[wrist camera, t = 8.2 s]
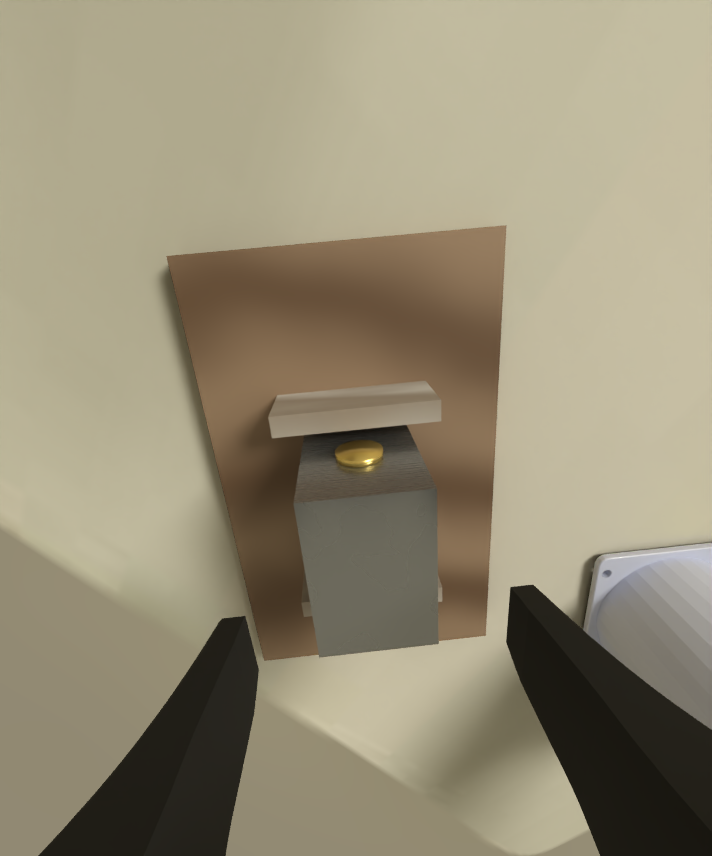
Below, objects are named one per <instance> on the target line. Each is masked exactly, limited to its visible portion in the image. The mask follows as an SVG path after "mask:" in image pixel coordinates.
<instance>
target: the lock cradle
mask: <svg viewBox="0 0 712 856" xmlns="http://www.w3.org/2000/svg"><path fill="white" fill-rule="evenodd" d="M505 241H506V226H495V227H484V228H473V229H462V230H451V231H440V232H429V233H418V234H406V235H395V236H384V237H373V238H362V239H351V240H340V241H329V242H318V243H307V244H296V245H285V246H274V247H263V248H251V249H240V250H229V251H218V252H207V253H196V254H185V255H174V256H167V260H168V264H169V268H170V272H171V277H172V281H173V285H174V289H175V293H176V297H177V301H178V306H179V310H180V314H181V318H182V322H183V326H184V330H185V334H186V339H187V343H188V347H189V351H190V355H191V359H192V363H193V368H194V372H195V376H196V380H197V384H198V388H199V392H200V397H201V401H202V405H203V409H204V413H205V417H206V421H207V426H208V430H209V434H210V438H211V442H212V446H213V450H214V454H215V459H216V463H217V467H218V471H219V475H220V479H221V483H222V488H223V492H224V496H225V500H226V504H227V508H228V512H229V517H230V521H231V525H232V529H233V533H234V537H235V541H236V546H237V550H238V554H239V558H240V562H241V566H242V570H243V575H244V579H245V583H246V587H247V591H248V595H249V599H250V603H251V608H252V612H253V616H254V620H255V624H256V628H257V632H258V637H259V641H260V645H261V649H262V653H263V657H264V661H266V660H275V659H284V658H292V657H301V656H310V655H319V652H318V646H317V640H316V635H315V629H314V623H313V617H312V611H311V605H310V599H309V593H308V587H307V581H306V575H305V569H304V563H303V557H302V551H301V545H300V539H299V533H298V527H297V521H296V515H295V509H294V497H295V491H296V484H297V478H298V471H299V465H300V459H301V452H302V446H303V439H304V435H310V434H320V433H330V432H340V431H350V430H360V429H369V428H379V427H389V426H399V425H407V427H408V429H409V431H410V433H411V435H412V437H413V439H414V441H415V443H416V446H417V448H418V450H419V452H420V454H421V456H422V458H423V460H424V462H425V464H426V466H427V469H428V471H429V473H430V475H431V477H432V479H433V481H434V483H435V485H436V487H437V537H438V637H439V641H442V640H451V639H460V638H469V637H478V636H486V618H487V598H488V578H489V558H490V539H491V519H492V499H493V479H494V459H495V439H496V419H497V399H498V380H499V360H500V340H501V320H502V300H503V280H504V260H505Z"/></svg>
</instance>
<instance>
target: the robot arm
mask: <svg viewBox="0 0 712 856" xmlns="http://www.w3.org/2000/svg"><path fill="white" fill-rule="evenodd" d="M605 570H606V571H605ZM506 642H507V645H508V648H509V651H510V654H511V656H512V659H513V662H514V665H515V668H516V670H517V673H518V675H519V678H520V681H521V683H522V685H523V687H524V690H525V692H526V694H527V696H528V698H529V700H530V702H531V704H532V706H533V708H534V710H535V712H536V714H537V716H538V719H539V721H540V723H541V725H542V727H543V729H544V731H545V733H546V735H547V737H548V739H549V741H550V743H551V745H552V747H553V749H554V751H555V753H556V755H557V757H558V759H559V761H560V763H561V765H562V767H563V769H564V771H565V773H566V775H567V778H568V780H569V782H570V784H571V786H572V788H573V791H574V793H575V795H576V797H577V799H578V802H579V804H580V806H581V809H582V811H583V814H584V816H585V819H586V821H587V824H588V826H589V829H590V831H591V834H592V836H593V839H594V841H595V843H596V846H597V849H598V851H599V854H600V856H712V543H703V544H694V545H685V546H676V547H667V548H658V549H649V550H639V551H630V552H621V553H612V554H604V555H601V556H599V557H598V558H597V559H596V561H595V564H594V570H593V576H592V582H591V587H590V593H589V599H588V605H587V610H586V616H585V622H584V628H583V630H582V629H581V628H580V627H579V626H578V625H577V624H576V623H575V622H574V621H572V620H571V619H570V618H569V617H568V616H567V615H566V614H565V613H563V612H562V611H561V610H560V609H559V608H558V607H557V606H556V605H555V604H554V603H553V602H551V601H550V600H549V599H548V598H547V597H546V596H545V595H544V594H543V593H542V592H540V591H539V590H538V589H537V588H536V587H535V586H534V585H526V586H517V587H511V588H510V601H509V614H508V627H507V640H506ZM258 671H259V669H258V665H257V661H256V657H255V653H254V649H253V645H252V641H251V637H250V633H249V629H248V625H247V621H246V617H245V616H242V617H233V618H224V619H222V620H221V621H220V622H219V623H218V625H217V627H216V628H215V630H214V631H213V633H212V635H211V636H210V638H209V639H208V641H207V642H206V644H205V646H204V647H203V649H202V650H201V652H200V653H199V655H198V657H197V658H196V660H195V661H194V663H193V664H192V666H191V667H190V669H189V670H188V672H187V673H186V675H185V676H184V678H183V679H182V680H181V682H180V683H179V685H178V686H177V688H176V689H175V691H174V692H173V694H172V695H171V696H170V698H169V699H168V701H167V702H166V704H165V705H164V706H163V708H162V709H161V710H160V712H159V713H158V715H157V716H156V717H155V719H154V720H153V721H152V723H151V724H150V725H149V727H148V728H147V729H146V731H145V732H144V733H143V735H142V736H141V737H140V739H139V740H138V741H137V743H136V744H135V745H134V747H133V748H132V749H131V750H130V752H129V753H128V754H127V755H126V757H125V758H124V759H123V760H122V762H121V763H120V764H119V765H118V766H117V768H116V769H115V770H114V771H113V773H112V774H111V775H110V776H109V777H108V779H107V780H106V781H105V782H104V783H103V784H102V786H101V787H100V788H99V789H98V790H97V792H96V793H95V794H94V795H93V796H92V797H91V799H90V800H89V801H88V802H87V803H86V804H85V805H84V806H83V808H82V809H81V810H80V811H79V812H78V813H77V814H76V815H75V816H74V818H73V819H72V820H71V821H70V822H69V823H68V824H67V826H66V827H65V828H64V829H63V830H62V831H61V832H60V833H59V834H58V835H57V836H56V837H55V839H54V840H53V841H52V842H51V843H50V844H49V845H48V846H47V847H46V848H45V849H44V850H43V851H42V853H40V855H39V856H225V855H226V848H227V842H228V837H229V831H230V826H231V820H232V816H233V811H234V806H235V801H236V797H237V792H238V787H239V783H240V778H241V773H242V768H243V764H244V758H245V754H246V749H247V745H248V740H249V735H250V730H251V725H252V721H253V716H254V709H255V700H256V691H257V681H258Z"/></svg>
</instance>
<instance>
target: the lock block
mask: <svg viewBox="0 0 712 856" xmlns="http://www.w3.org/2000/svg"><path fill="white" fill-rule="evenodd" d="M294 509H295V515H296V521H297V527H298V533H299V539H300V545H301V551H302V557H303V563H304V569H305V575H306V581H307V587H308V593H309V599H310V605H311V611H312V617H313V623H314V629H315V635H316V640H317V646H318V652H319V657H327V656H336V655H345V654H354V653H362V652H371V651H380V650H389V649H398V648H406V647H415V646H424V645H433V644H439V637H438V537H437V487H436V485H435V483H434V481H433V479H432V477H431V475H430V473H429V471H428V469H427V466H426V464H425V462H424V460H423V458H422V456H421V454H420V452H419V450H418V448H417V446H416V443H415V441H414V439H413V437H412V435H411V433H410V431H409V429H408V427H407V425H399V426H389V427H379V428H369V429H360V430H350V431H340V432H330V433H320V434H310V435H304V439H303V446H302V452H301V459H300V465H299V471H298V478H297V484H296V491H295V497H294Z"/></svg>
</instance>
